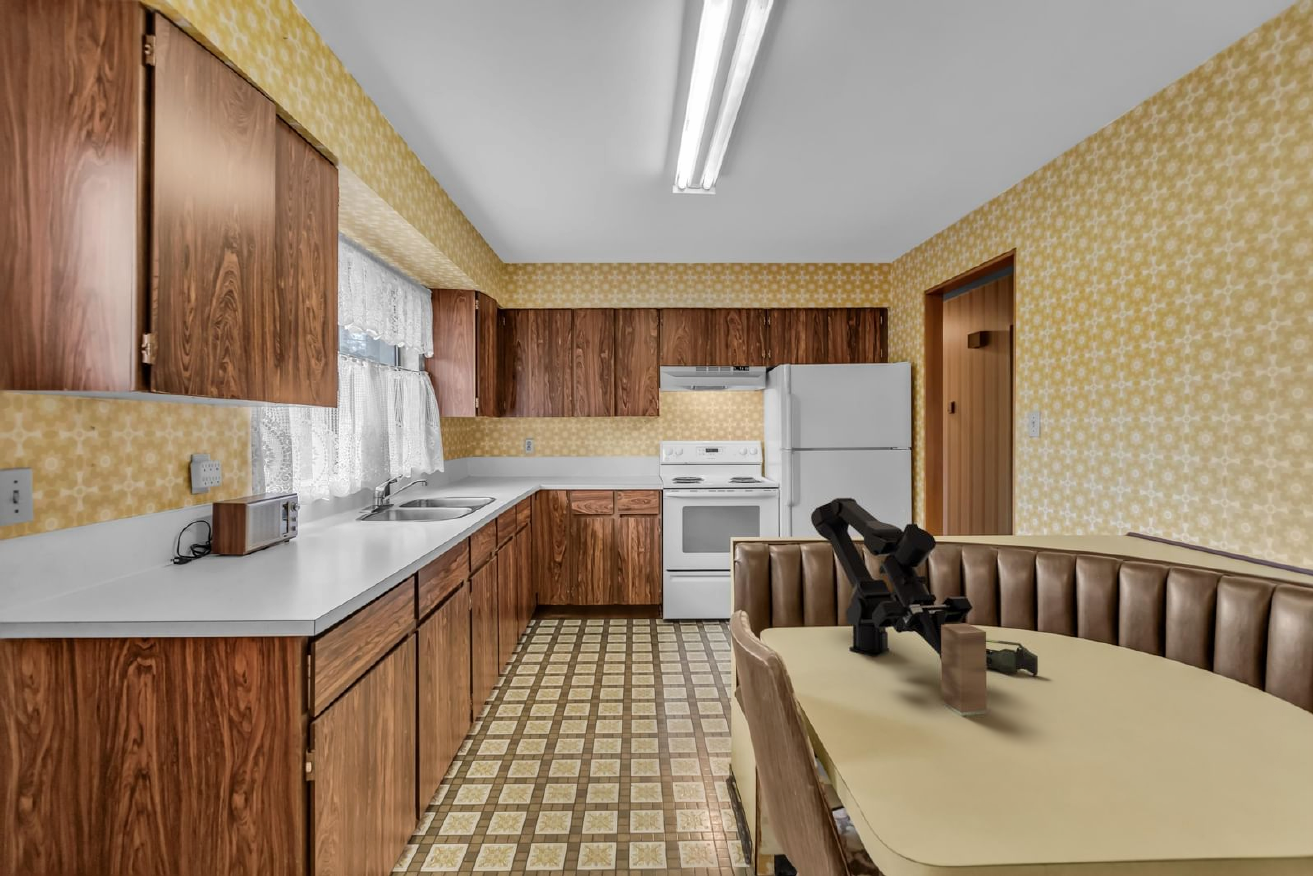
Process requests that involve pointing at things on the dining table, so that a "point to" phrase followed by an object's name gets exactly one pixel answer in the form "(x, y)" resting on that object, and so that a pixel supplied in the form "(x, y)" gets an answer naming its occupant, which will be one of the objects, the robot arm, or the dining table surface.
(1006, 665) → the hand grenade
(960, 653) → the walnut block
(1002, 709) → the dining table surface
